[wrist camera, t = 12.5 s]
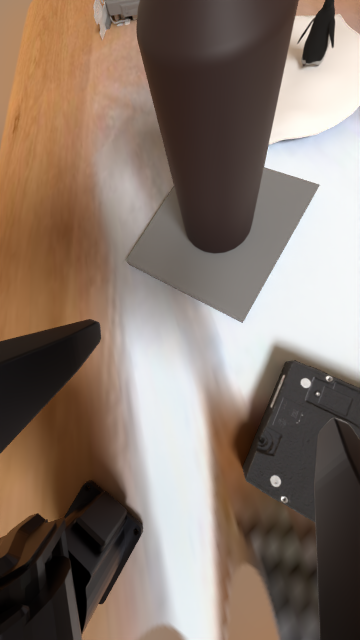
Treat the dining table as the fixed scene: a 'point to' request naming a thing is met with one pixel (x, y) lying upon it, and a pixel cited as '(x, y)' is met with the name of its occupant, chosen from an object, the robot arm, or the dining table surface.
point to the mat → (230, 267)
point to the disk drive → (298, 433)
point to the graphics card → (114, 12)
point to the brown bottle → (215, 104)
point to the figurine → (318, 76)
